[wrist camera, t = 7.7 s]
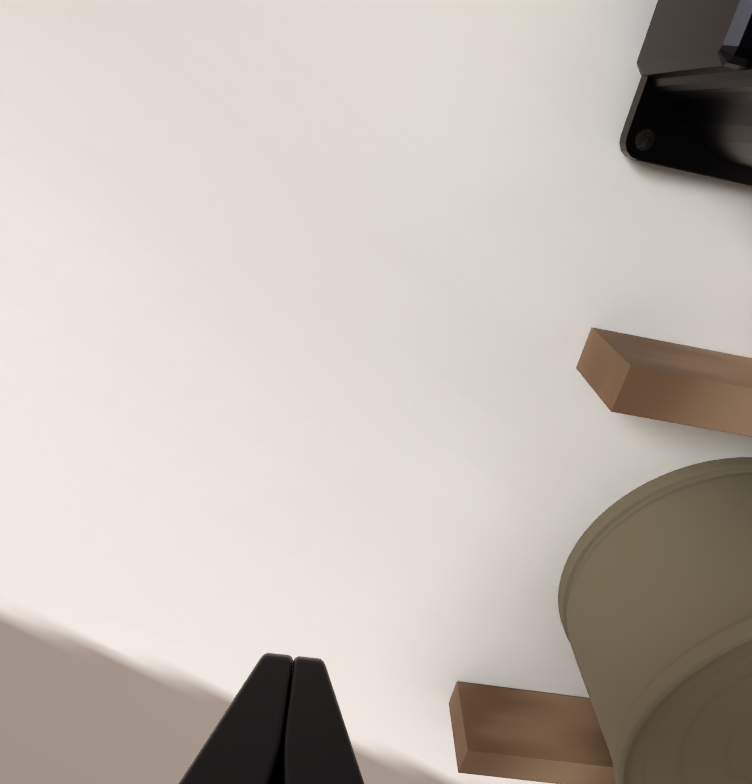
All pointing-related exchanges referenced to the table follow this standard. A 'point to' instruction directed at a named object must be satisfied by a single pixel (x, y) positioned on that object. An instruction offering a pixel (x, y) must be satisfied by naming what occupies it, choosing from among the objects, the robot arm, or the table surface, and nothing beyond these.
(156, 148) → the table surface
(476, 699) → the pocket
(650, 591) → the can
